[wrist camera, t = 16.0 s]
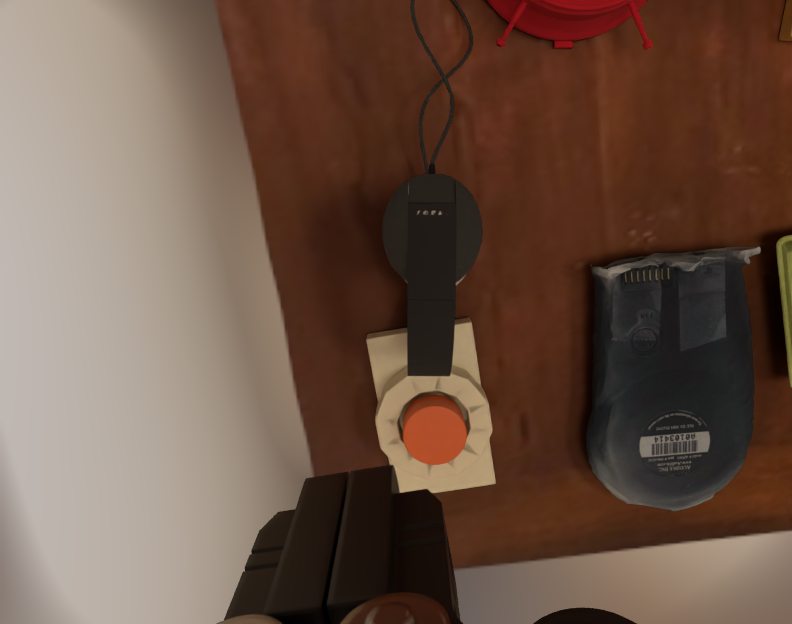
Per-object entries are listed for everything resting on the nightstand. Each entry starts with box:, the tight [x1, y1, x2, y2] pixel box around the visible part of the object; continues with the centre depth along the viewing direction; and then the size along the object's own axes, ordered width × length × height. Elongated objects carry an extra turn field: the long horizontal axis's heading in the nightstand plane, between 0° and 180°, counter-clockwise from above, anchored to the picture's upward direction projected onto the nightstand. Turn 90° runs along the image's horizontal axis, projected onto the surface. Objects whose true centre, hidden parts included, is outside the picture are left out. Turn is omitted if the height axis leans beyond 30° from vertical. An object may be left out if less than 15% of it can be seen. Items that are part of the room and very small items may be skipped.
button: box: [403, 395, 467, 465], centre depth 36 cm, size 3×3×2 cm
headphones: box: [382, 0, 482, 376], centre depth 32 cm, size 10×4×20 cm
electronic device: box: [586, 247, 761, 511], centre depth 37 cm, size 9×6×15 cm
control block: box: [366, 318, 496, 493], centre depth 38 cm, size 10×6×3 cm, turn 10°
